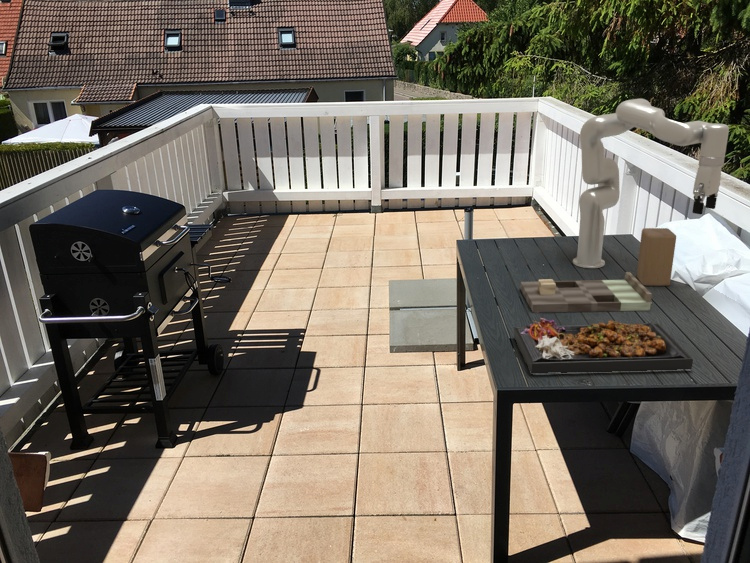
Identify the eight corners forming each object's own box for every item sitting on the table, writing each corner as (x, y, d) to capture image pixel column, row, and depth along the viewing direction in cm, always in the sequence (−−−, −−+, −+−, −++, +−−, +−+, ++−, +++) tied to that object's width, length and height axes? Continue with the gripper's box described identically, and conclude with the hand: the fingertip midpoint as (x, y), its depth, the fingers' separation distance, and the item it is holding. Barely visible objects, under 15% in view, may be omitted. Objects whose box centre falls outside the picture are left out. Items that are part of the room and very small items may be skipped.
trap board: (520, 289, 247) (521, 274, 245) (627, 287, 245) (629, 271, 243) (532, 312, 226) (533, 296, 224) (649, 310, 225) (651, 294, 223)
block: (662, 277, 254) (668, 227, 247) (670, 286, 245) (677, 235, 238) (635, 277, 255) (641, 227, 248) (642, 286, 246) (648, 235, 239)
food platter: (531, 377, 185) (533, 344, 182) (513, 339, 208) (515, 309, 205) (690, 373, 185) (696, 340, 181) (655, 335, 208) (659, 305, 204)
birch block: (537, 289, 238) (538, 279, 236) (551, 289, 237) (552, 279, 236) (540, 295, 233) (541, 284, 231) (554, 294, 233) (555, 284, 231)
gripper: (711, 156, 229) (703, 204, 235) (688, 163, 218) (681, 213, 224) (733, 159, 223) (725, 208, 230) (711, 166, 213) (703, 217, 219)
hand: (703, 210), depth 227 cm, fingers open, 9 cm apart
